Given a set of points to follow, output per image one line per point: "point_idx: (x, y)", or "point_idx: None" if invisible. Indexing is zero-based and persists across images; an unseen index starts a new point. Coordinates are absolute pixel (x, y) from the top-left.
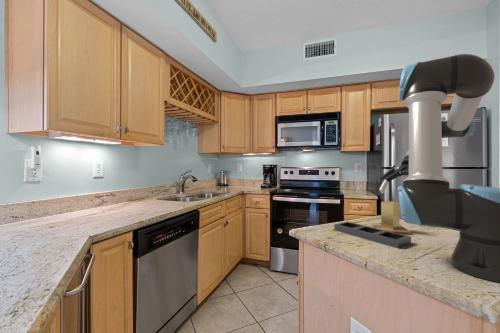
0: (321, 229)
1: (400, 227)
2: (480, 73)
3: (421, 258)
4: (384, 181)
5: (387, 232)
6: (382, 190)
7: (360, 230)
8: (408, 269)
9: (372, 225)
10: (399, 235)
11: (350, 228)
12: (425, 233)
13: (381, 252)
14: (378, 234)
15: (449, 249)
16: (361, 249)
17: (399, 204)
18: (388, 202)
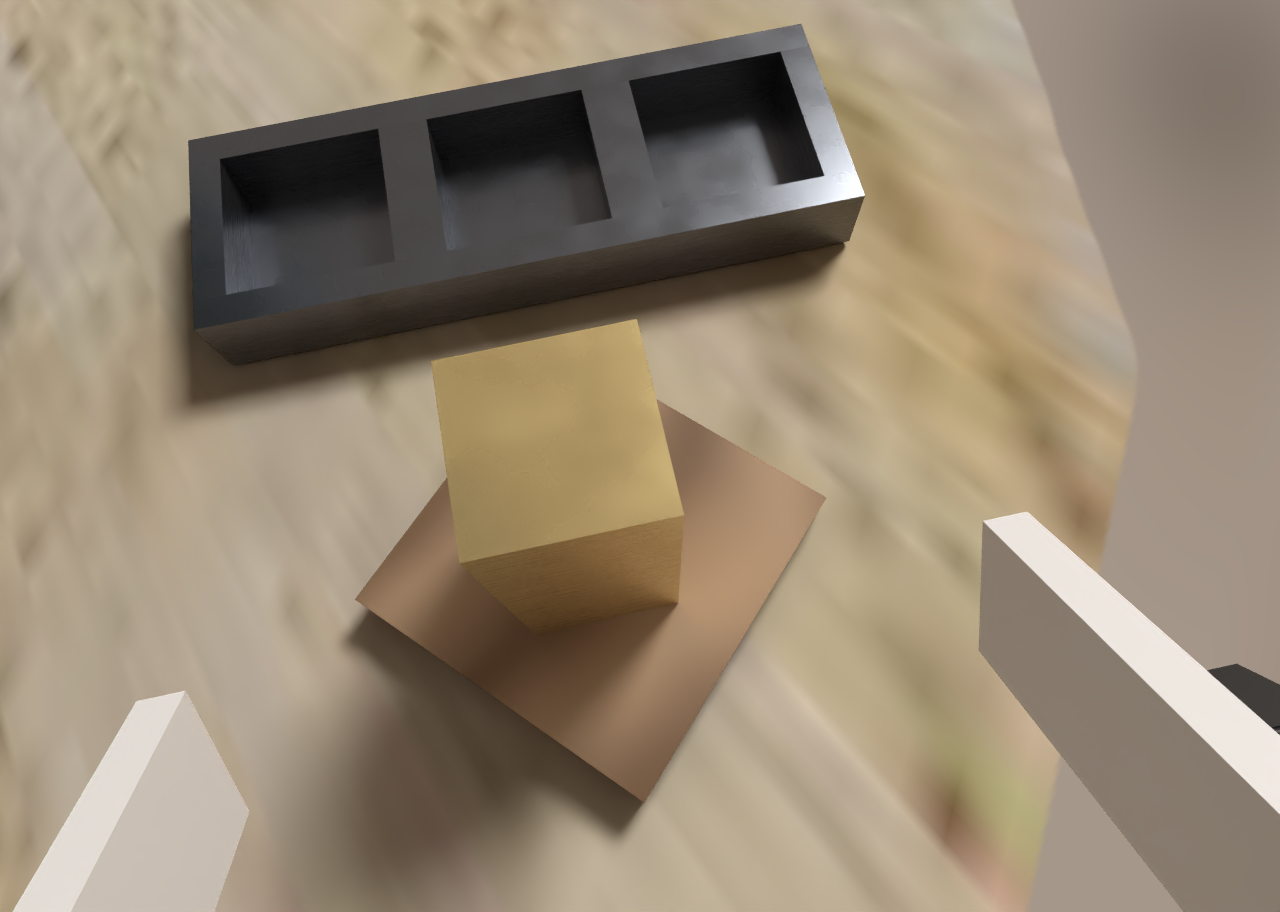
0: (894, 32)
1: (552, 678)
2: None
3: (64, 206)
4: (1266, 761)
5: (393, 265)
6: (1005, 612)
7: (535, 92)
8: (39, 21)
9: (772, 470)
10: (282, 287)
11: (623, 60)
12: (377, 905)
13: (266, 74)
14: (380, 141)
15: (8, 571)
16: (369, 7)
17: (467, 569)
18: (549, 386)
